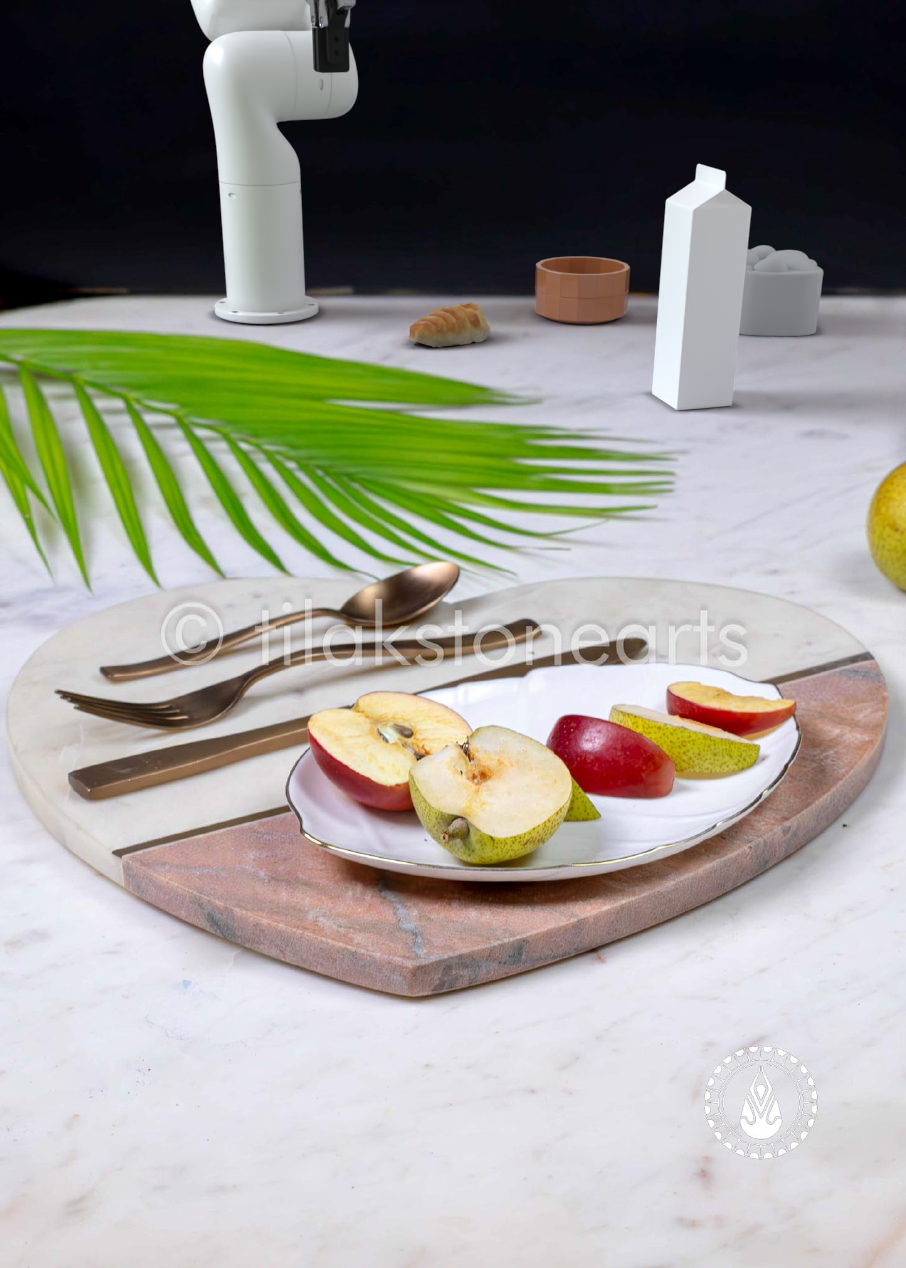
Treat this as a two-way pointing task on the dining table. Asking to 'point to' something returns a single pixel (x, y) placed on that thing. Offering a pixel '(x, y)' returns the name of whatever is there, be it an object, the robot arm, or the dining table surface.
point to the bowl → (581, 289)
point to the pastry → (451, 326)
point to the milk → (700, 293)
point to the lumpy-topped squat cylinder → (780, 293)
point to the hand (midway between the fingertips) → (331, 71)
